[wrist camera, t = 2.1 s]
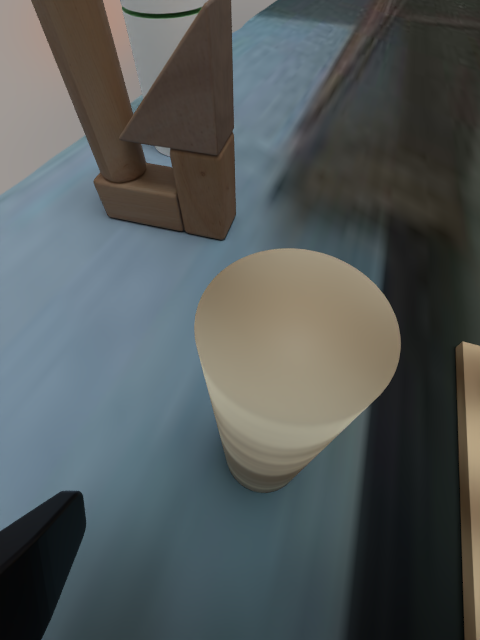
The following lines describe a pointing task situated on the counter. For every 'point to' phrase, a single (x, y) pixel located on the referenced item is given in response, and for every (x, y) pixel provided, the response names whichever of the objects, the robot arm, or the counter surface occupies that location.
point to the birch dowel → (291, 358)
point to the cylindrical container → (156, 35)
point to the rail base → (469, 480)
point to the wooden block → (154, 117)
